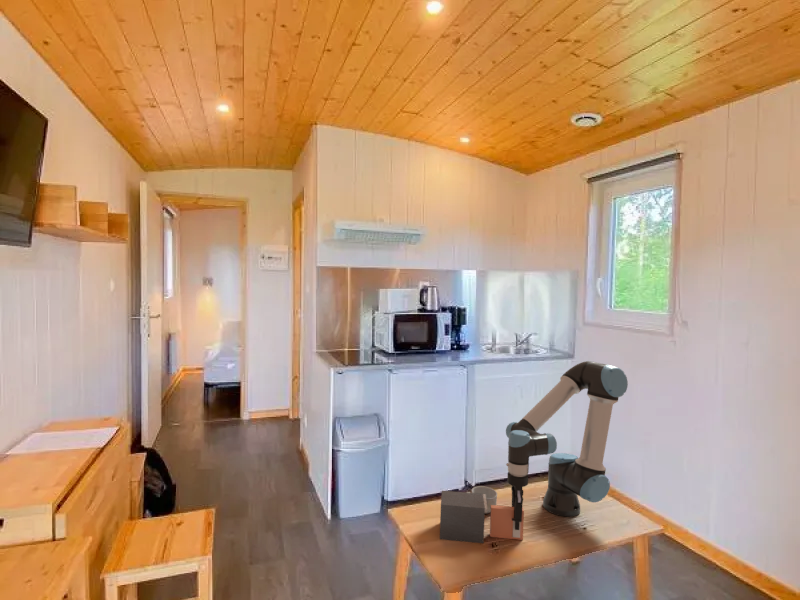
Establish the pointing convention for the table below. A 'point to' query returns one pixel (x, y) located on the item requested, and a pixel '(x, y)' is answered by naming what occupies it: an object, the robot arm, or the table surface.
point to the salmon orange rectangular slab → (503, 522)
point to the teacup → (490, 495)
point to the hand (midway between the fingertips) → (515, 534)
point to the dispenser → (462, 516)
